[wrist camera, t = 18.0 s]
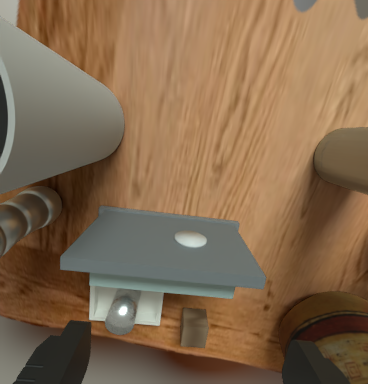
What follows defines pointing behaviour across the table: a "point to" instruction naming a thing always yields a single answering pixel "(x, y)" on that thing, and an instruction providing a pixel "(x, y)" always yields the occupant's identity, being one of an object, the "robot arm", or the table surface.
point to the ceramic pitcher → (332, 330)
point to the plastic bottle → (27, 214)
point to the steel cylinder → (123, 311)
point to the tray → (146, 309)
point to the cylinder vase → (49, 113)
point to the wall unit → (164, 254)
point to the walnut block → (194, 328)
